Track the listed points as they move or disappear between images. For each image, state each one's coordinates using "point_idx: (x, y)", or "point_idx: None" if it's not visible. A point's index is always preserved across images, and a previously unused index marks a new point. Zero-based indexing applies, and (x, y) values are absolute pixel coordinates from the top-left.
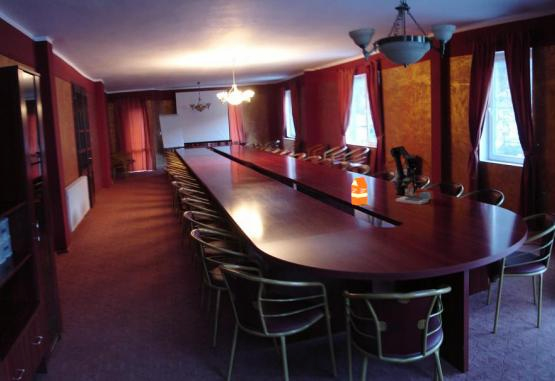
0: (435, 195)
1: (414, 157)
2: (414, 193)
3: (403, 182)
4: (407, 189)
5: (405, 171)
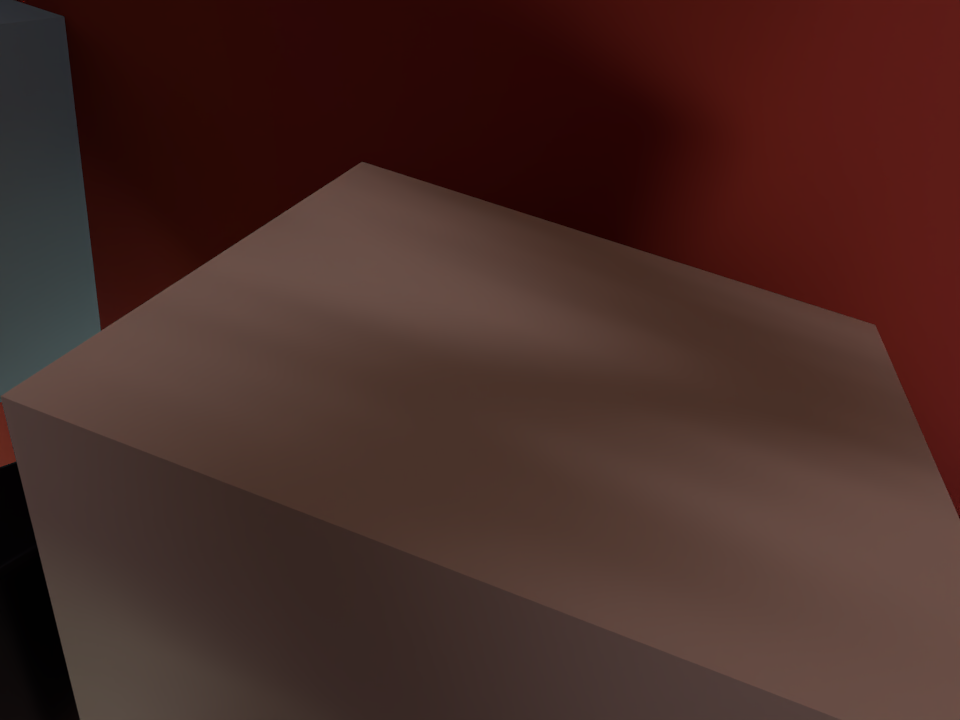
0: None
1: None
2: None
3: None
4: (682, 614)
5: None
